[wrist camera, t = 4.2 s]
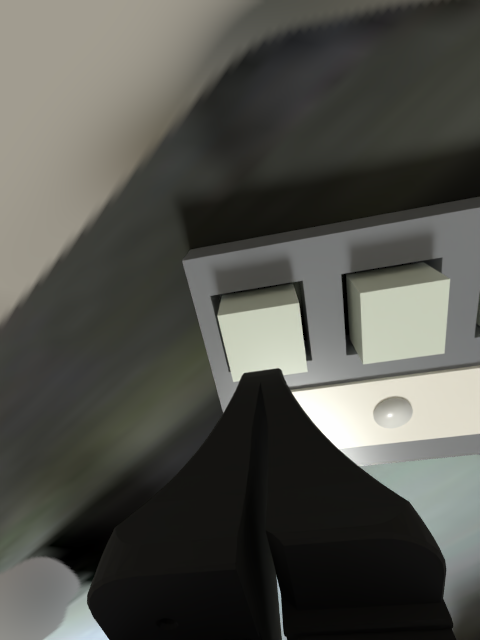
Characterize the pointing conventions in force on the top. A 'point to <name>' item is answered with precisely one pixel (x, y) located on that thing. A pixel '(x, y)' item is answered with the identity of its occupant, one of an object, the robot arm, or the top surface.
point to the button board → (336, 348)
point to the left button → (263, 331)
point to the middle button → (398, 312)
